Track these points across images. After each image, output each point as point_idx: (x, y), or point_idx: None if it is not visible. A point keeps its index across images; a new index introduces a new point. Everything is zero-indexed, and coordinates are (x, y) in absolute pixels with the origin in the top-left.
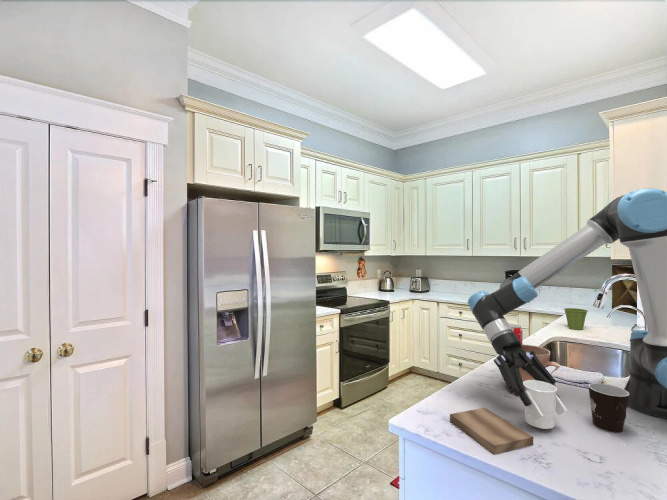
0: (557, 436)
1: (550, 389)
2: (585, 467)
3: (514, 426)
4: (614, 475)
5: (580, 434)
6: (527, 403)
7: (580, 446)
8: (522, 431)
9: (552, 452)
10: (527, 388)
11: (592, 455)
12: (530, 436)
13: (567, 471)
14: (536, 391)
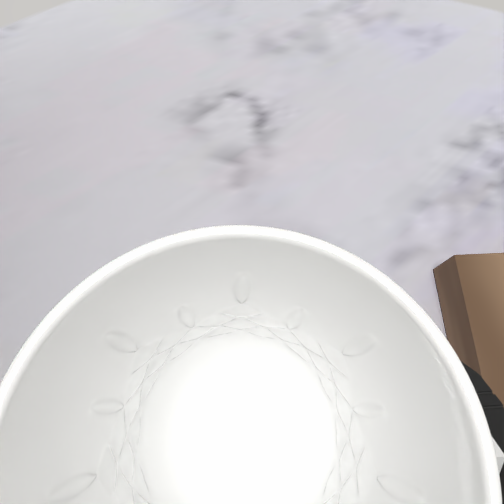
0: None
1: (39, 446)
2: (330, 88)
3: (496, 389)
4: (266, 32)
5: (77, 278)
6: (470, 374)
7: (199, 195)
8: (482, 320)
9: (383, 196)
10: (487, 472)
11: (218, 132)
12: (469, 263)
13: (426, 90)
14: (430, 327)
